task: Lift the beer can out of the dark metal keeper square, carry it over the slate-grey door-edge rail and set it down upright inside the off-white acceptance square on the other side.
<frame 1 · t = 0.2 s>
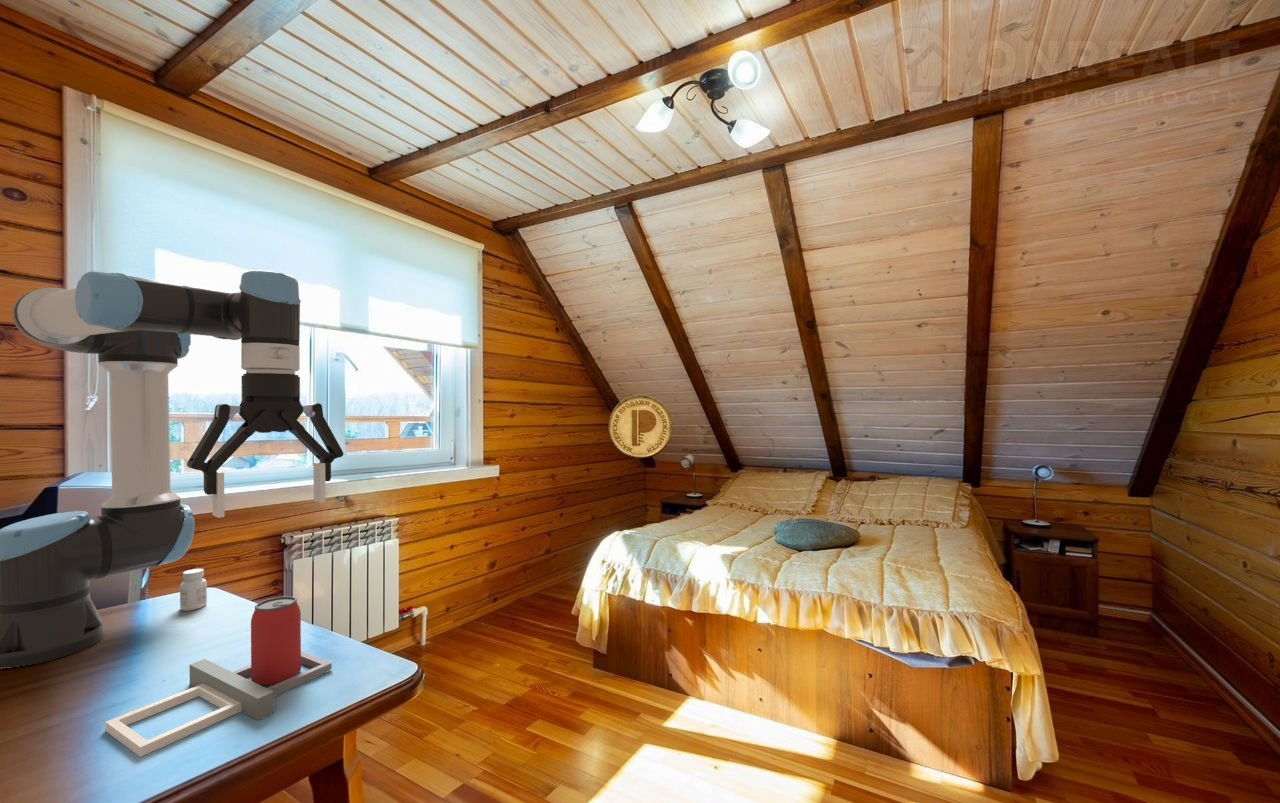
hand: (272, 508, 84), 27 cm above the table, fingers open, 13 cm apart
pill bottle: (193, 608, 114), on the table
beer can: (276, 678, 85), resting in double frame with crossbar
double frame with crossbar: (229, 697, 80), on the table
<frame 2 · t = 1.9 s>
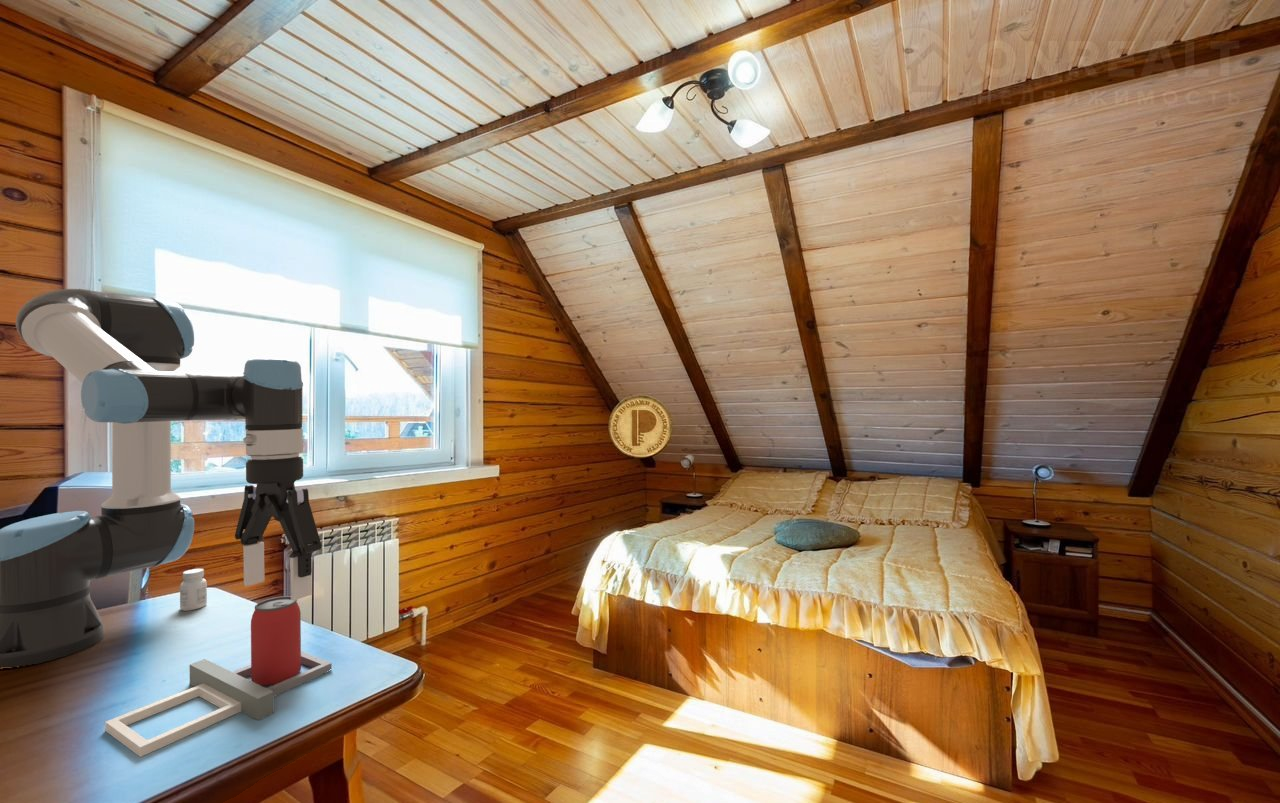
hand: (277, 590, 85), 14 cm above the table, fingers open, 13 cm apart
nothing on the table moved.
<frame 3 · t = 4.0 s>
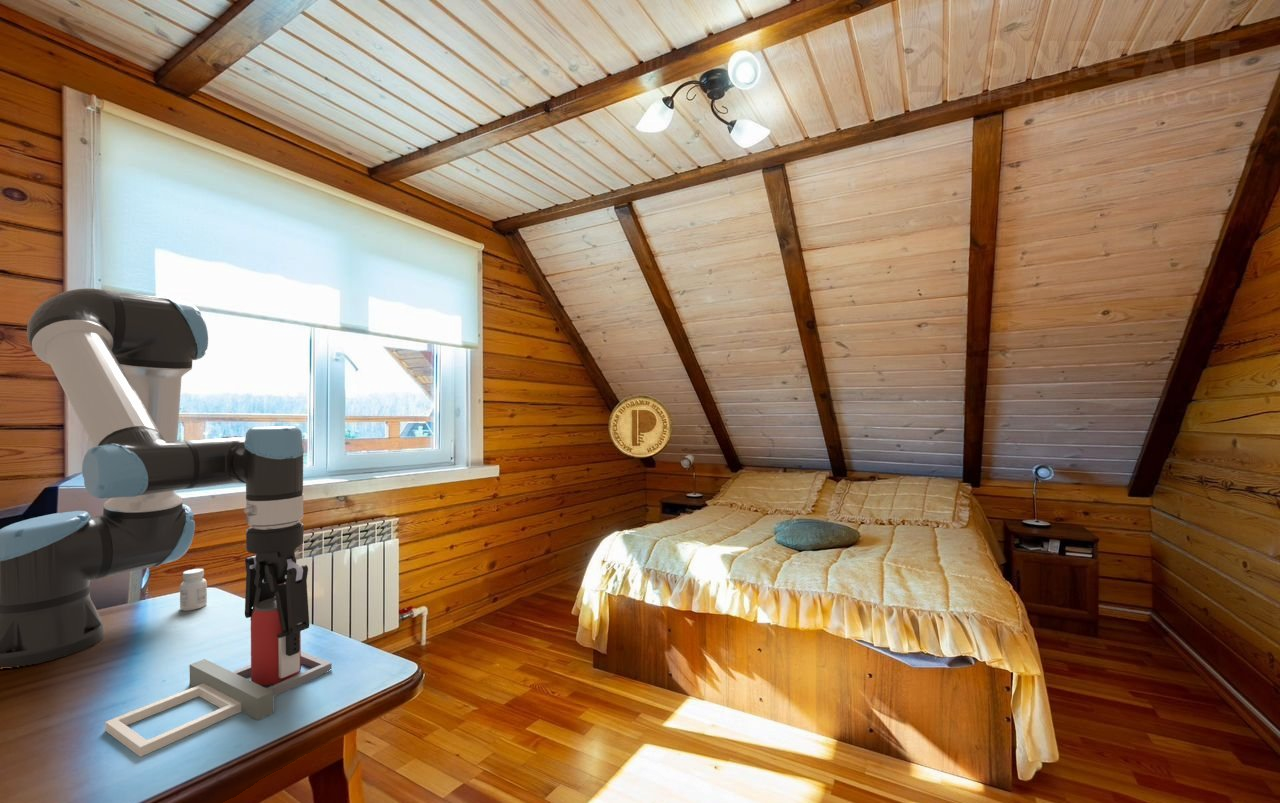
hand: (276, 668, 85), 2 cm above the table, fingers closed on beer can, 7 cm apart
beer can: (276, 678, 85), resting in double frame with crossbar, touching gripper
everything else where it was.
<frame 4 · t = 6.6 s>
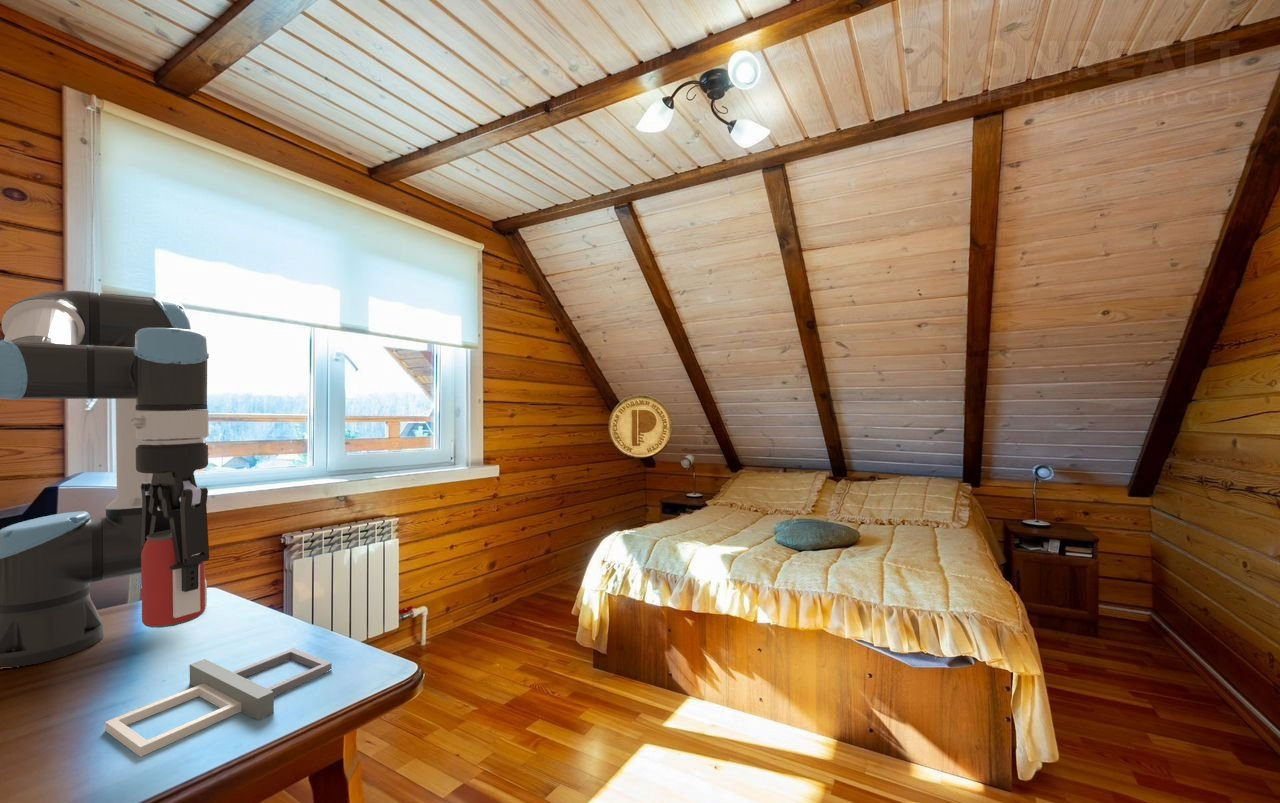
hand: (174, 608, 74), 15 cm above the table, fingers closed on beer can, 7 cm apart
beer can: (174, 621, 74), point 14 cm above the table, touching gripper
everything else where it was.
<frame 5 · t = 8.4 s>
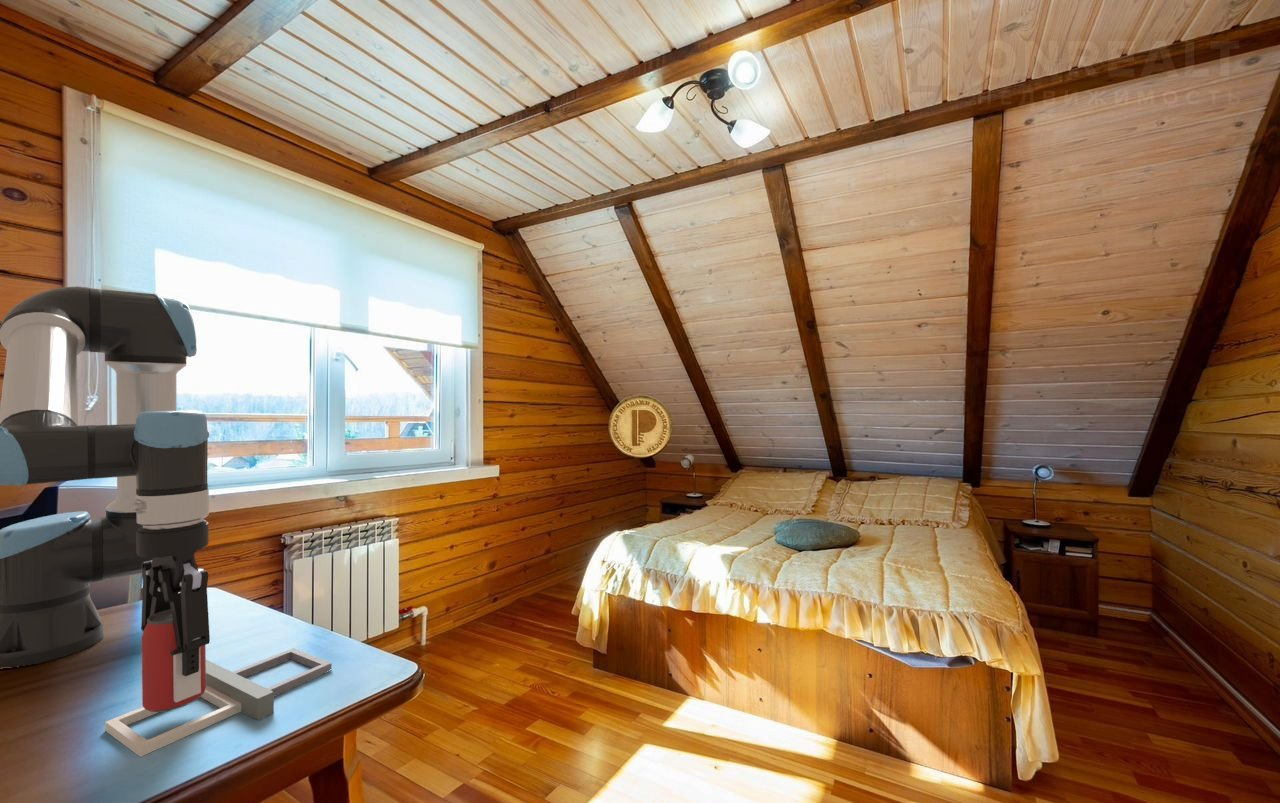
hand: (175, 689, 74), 4 cm above the table, fingers closed on beer can, 7 cm apart
beer can: (175, 702, 74), point 3 cm above the table, touching gripper
everything else where it was.
when the fingers open (2 cm above the table, at t = 9.6 s): beer can stays where it is, resting in double frame with crossbar.
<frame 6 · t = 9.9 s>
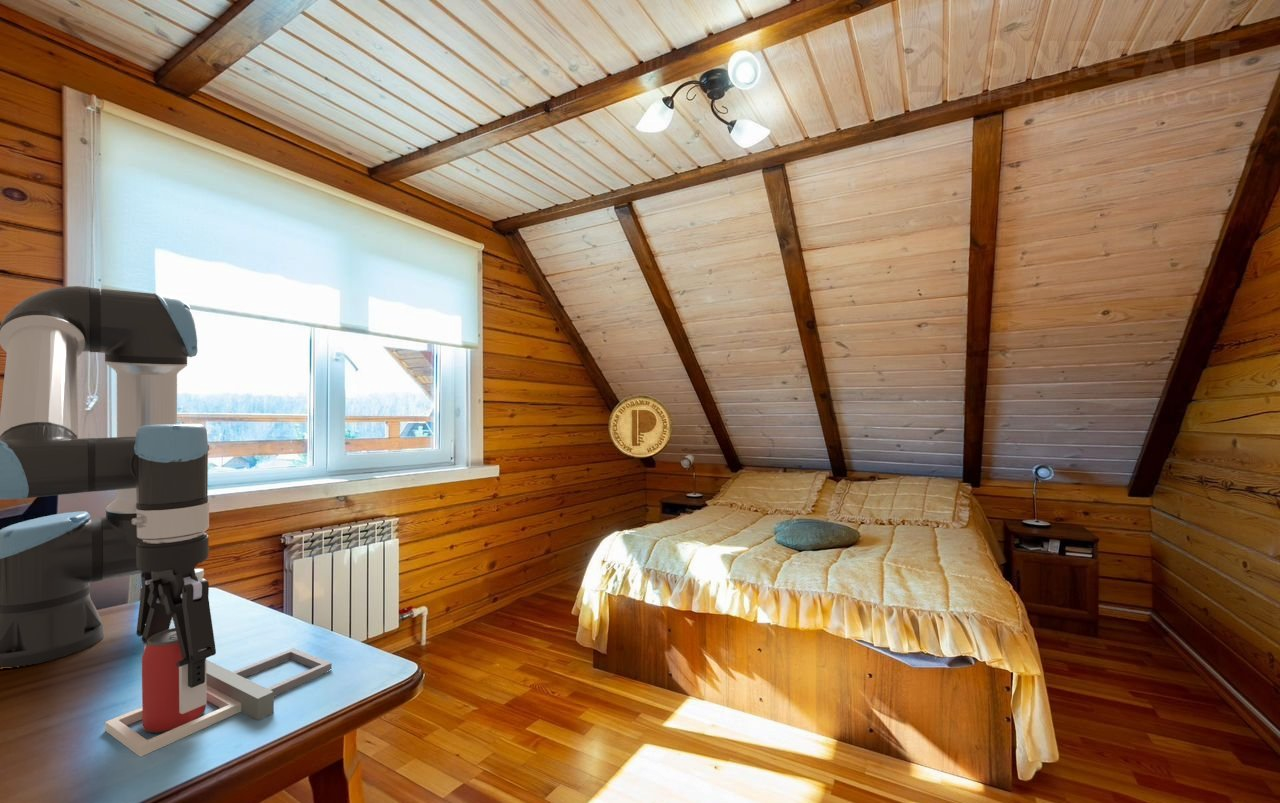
hand: (175, 697, 74), 3 cm above the table, fingers open, 10 cm apart
beer can: (175, 722, 74), resting in double frame with crossbar
everything else where it was.
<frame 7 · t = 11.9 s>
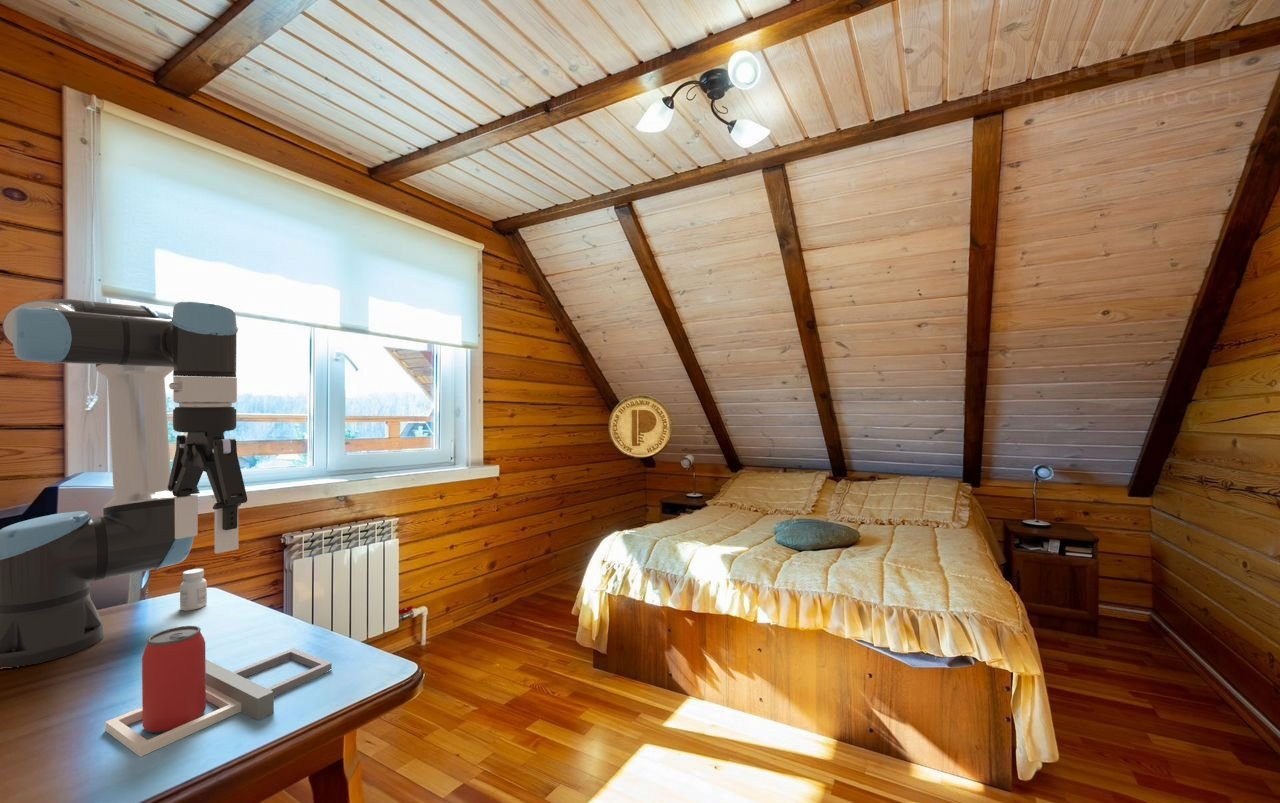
hand: (205, 543, 82), 22 cm above the table, fingers open, 13 cm apart
nothing on the table moved.
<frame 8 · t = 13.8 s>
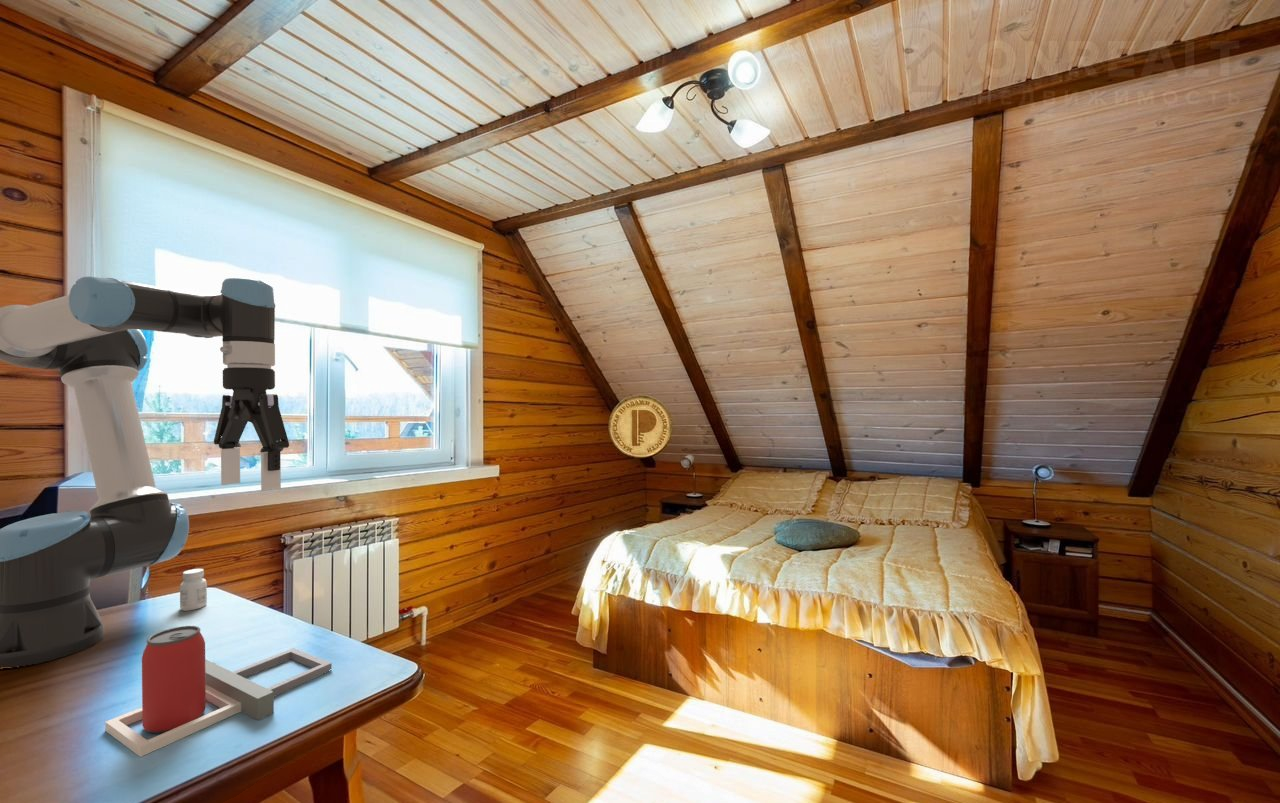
hand: (250, 486, 95), 29 cm above the table, fingers open, 13 cm apart
nothing on the table moved.
at the end: beer can 0.1 cm from the target spot on the double frame with crossbar, point 0.0 cm above the double frame with crossbar's base; beer can tilted 0°; the gripper is holding nothing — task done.
